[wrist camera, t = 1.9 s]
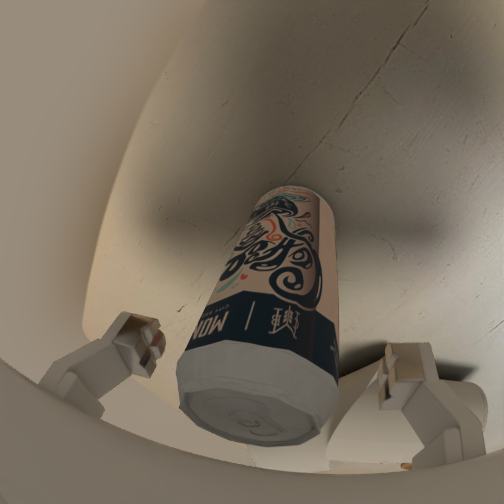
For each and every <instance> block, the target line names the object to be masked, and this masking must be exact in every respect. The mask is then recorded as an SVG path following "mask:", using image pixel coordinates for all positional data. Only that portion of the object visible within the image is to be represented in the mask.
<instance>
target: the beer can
mask: <svg viewBox="0 0 504 504" xmlns="http://www.w3.org/2000/svg"><path fill="white" fill-rule="evenodd" d="M176 376H177V382H178V390H179V398H180V406H179V408H180V409H181V410H182V411H183V412H184V413H185V414H186V415H187V416H188V417H189V418H190V419H191V420H192V421H193V422H194V423H195V424H196V425H197V426H199V427H201V428H203V429H205V430H207V431H210V432H212V433H214V434H216V435H218V436H220V437H223V438H225V439H227V440H230V441H234V442H239V443H244V444H249V445H255V446H260V447H266V448H268V447H285V446H298V445H302V444H303V443H305V442H307V441H309V440H311V439H312V438H314V437H316V436H318V435H319V434H320V431H321V430H320V429H321V428H322V427H323V426H324V425H325V423H326V422H327V420H328V419H329V418H330V416H331V415H332V413H333V412H334V410H335V409H336V406H337V404H338V401H339V397H340V396H339V390H338V379H339V294H338V270H337V253H336V238H335V219H334V215H333V212H332V210H331V208H330V206H329V205H328V203H327V202H326V201H325V200H324V199H323V198H322V197H321V196H320V195H319V194H317V193H315V192H314V191H312V190H310V189H307V188H304V187H299V186H283V187H278V188H276V189H273V190H271V191H269V192H268V193H266V194H265V195H264V196H262V197H261V198H260V199H259V200H258V202H257V204H256V205H255V207H254V210H253V213H252V215H251V217H250V219H249V221H248V223H247V225H246V227H245V228H244V230H243V232H242V234H241V236H240V238H239V240H238V242H237V244H236V246H235V248H234V250H233V252H232V254H231V257H230V259H229V261H228V263H227V265H226V267H225V269H224V271H223V273H222V275H221V277H220V279H219V281H218V283H217V285H216V287H215V289H214V291H213V293H212V295H211V297H210V299H209V301H208V303H207V305H206V307H205V309H204V312H203V314H202V316H201V318H200V320H199V322H198V324H197V326H196V328H195V330H194V332H193V334H192V336H191V338H190V341H189V343H188V345H187V347H186V349H185V351H184V353H183V354H182V356H181V357H180V359H179V360H178V362H177V369H176Z"/></svg>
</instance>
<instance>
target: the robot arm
mask: <svg viewBox="0 0 504 504" xmlns="http://www.w3.org/2000/svg"><path fill="white" fill-rule="evenodd" d="M160 326H161V325H160V323H159V321H158V319H155V318H151V317H146V316H142V315H138V314H133V313H129V312H125V311H124V312H122V313H120V314H119V316H118V317H117V318H116V320H115V321H114V322H113V324H112V325H111V326H110V328H109V329H108V330H107V332H106V333H105V334H104V336H103V337H102V339H96V340H95V341H93V342H91V343H89V344H87V345H85V346H83V347H81V348H79V349H78V350H76V351H74V352H72V353H70V354H68V355H66V356H64V357H62V358H61V359H59V360H57V361H55V362H54V363H53V364H52V365H51V367H50V368H49V369H48V371H47V372H46V374H45V375H44V376H43V378H42V379H41V381H40V382H39V384H36V383H35V382H33V381H32V380H30V379H29V378H27V377H26V376H24V375H23V374H21V373H20V372H19V371H17V370H16V369H14V368H13V367H12V366H10V365H9V364H8V363H6V362H5V361H4V360H2V359H1V358H0V504H504V449H501V450H498V451H495V452H492V453H489V454H486V451H485V444H484V437H483V431H482V426H481V421H480V420H479V419H478V418H477V417H476V416H475V415H474V413H473V412H472V411H471V410H470V409H469V408H468V407H467V406H466V405H465V404H464V402H463V401H462V400H461V399H460V398H459V397H458V396H457V395H456V394H455V393H454V392H453V391H452V390H451V388H450V387H449V386H448V385H447V384H446V383H445V382H444V381H443V380H439V377H438V373H437V368H436V364H435V360H434V356H433V353H432V349H431V345H430V344H429V343H388V344H387V346H386V348H385V356H384V357H382V358H381V360H380V363H379V367H378V376H377V378H378V384H379V385H380V386H381V390H380V392H379V394H378V395H379V410H401V411H402V413H403V414H404V416H405V417H406V419H407V420H408V422H409V424H410V425H411V427H412V428H413V430H414V431H415V433H416V434H417V436H418V438H419V439H420V441H421V442H422V444H423V445H424V448H423V449H422V450H421V451H420V452H418V453H417V454H416V455H415V456H414V457H413V458H412V470H408V471H400V472H389V473H375V474H315V473H300V472H289V471H280V470H272V469H265V468H258V467H252V466H246V465H241V464H236V463H230V462H226V461H221V460H217V459H213V458H208V457H205V456H201V455H197V454H193V453H190V452H186V451H182V450H179V449H176V448H173V447H169V446H167V445H164V444H161V443H158V442H155V441H152V440H149V439H146V438H144V437H141V436H139V435H136V434H133V433H131V432H129V431H126V430H124V429H121V428H119V427H117V426H114V425H112V424H110V423H108V422H105V421H103V420H101V419H100V418H101V416H102V415H103V413H104V411H105V409H104V407H103V405H102V404H101V403H100V402H99V401H98V399H99V398H101V397H102V396H103V395H105V394H106V393H108V392H109V391H110V390H112V389H113V388H114V387H116V386H117V385H118V384H120V383H121V382H122V381H124V380H125V379H126V378H128V377H129V376H131V375H132V374H135V375H138V376H142V377H146V378H149V379H150V377H151V375H152V373H153V372H154V370H155V368H156V366H157V364H156V360H157V359H159V358H160V357H162V355H163V353H164V350H165V345H166V340H165V336H164V334H163V333H162V332H161V331H160V330H159V328H160Z"/></svg>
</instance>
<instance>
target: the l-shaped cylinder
mask: <svg viewBox="0 0 504 504" xmlns="http://www.w3.org/2000/svg"><path fill="white" fill-rule="evenodd" d="M379 363H380V360H379V361H377V362H374V363H372V364H370V365H368V366H366V367H364V368H362V369H359V370H357V371H355V372H353V373H350V374H348V375H346V376H343V377H341V378H339V379H338V390H339V396H340V397H339V401H338V404H337V406H336V409H335V410H334V412H333V413H332V415H331V416H330V418H329V419H328V420H327V422H326V423H325V425H324V426H323V427H322V428H321V429H320V430H321V431H320V434H319V435H318V436H316V437H314V438H312V439H311V440H309V441H307V442H305V443H303V444H302V445H298V446H285V447H268V448H266V447H260V446H255V445H249V444H247V446H248V450H249V453H250V455H251V457H252V459H253V460H254V462H255V463H256V464H257V466H258V467H259V468H265V469H272V470H280V471H289V472H300V473H310V472H318V471H324V470H331V469H334V468H336V467H338V466H339V465H341V464H342V463H343V462H344V461H346V462H361V463H412V458H413V457H414V456H415V455H416V454H417V453H418V452H420V451H421V450H422V449H423V448H424V445H423V444H422V442H421V441H420V439H419V438H418V436H417V434H416V433H415V431H414V430H413V428H412V427H411V425H410V424H409V422H408V420H407V419H406V417H405V416H404V414H403V413H402V411H401V410H379V395H378V394H379V392H380V390H381V386H380V385H379V384H378V378H377V376H378V367H379ZM439 380H443V379H439ZM443 381H444V382H445V383H446V384H447V385H448V386H449V387H450V388H451V390H452V391H453V392H454V393H455V394H456V395H457V396H458V397H459V398H460V399H461V400H462V401H463V402H464V404H465V405H466V406H467V407H468V408H469V409H470V410H471V411H472V412H473V413H474V415H475V416H476V417H477V418H478V419H479V420H480V421H481V426H482V431H483V432H484V429H485V426H486V423H487V417H488V404H487V399H486V396H485V394H484V392H483V390H482V389H481V388H480V387H479V386H478V385H476V384H474V383H470V382H460V381H451V380H443Z"/></svg>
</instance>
